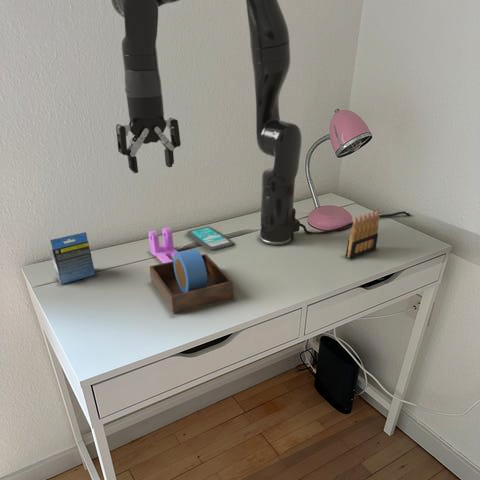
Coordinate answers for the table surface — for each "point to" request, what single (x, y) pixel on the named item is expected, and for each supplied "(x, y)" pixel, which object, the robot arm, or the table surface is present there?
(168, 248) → the bracket
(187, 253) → the tape roll
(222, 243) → the smartphone
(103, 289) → the table surface
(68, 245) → the blue retail box
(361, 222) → the ammunition clip
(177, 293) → the wooden box
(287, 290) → the table surface
